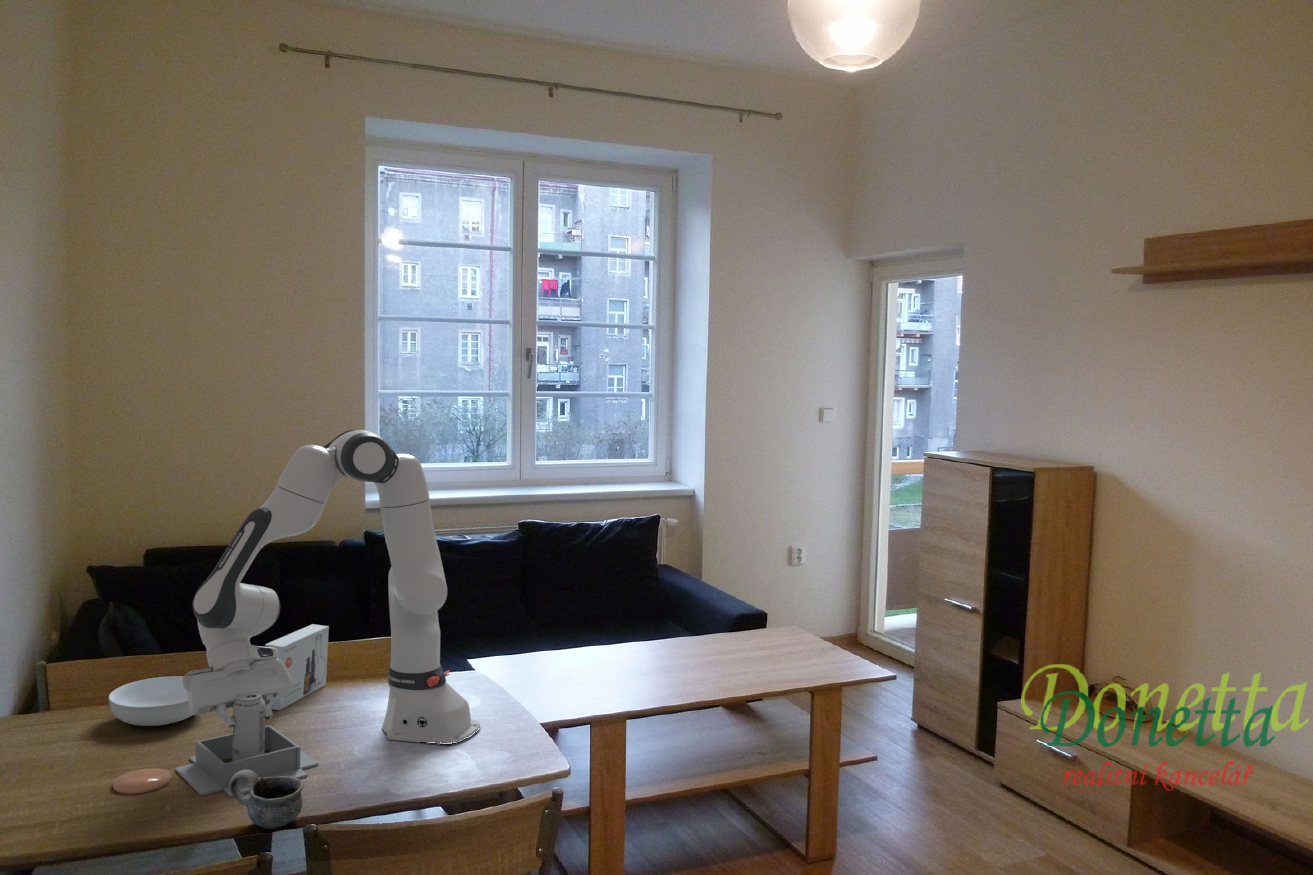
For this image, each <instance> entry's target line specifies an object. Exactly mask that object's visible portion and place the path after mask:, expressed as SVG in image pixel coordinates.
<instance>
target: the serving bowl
mask: <svg viewBox="0 0 1313 875" xmlns="http://www.w3.org/2000/svg"><path fill="white" fill-rule="evenodd" d="M183 677H184V676H181V675H180V676H179V675H177V676H176V675H175V676H173V675H172V676H159V677H152V678H146V679H141V680H136V681H133V682H129V683H127V684H123V685H121V686H119V687H117V688H115V689H114V690H113V691H111V692H110V693H109V695H108V703H109V706H110V707H109V708H110V710H111V712H112V714H113V715H114V716H115V717H116V718H117V719H119V720H120V721H122V722H124V723H127V724H129V725H134V726H141V727H143V726H144V727H158V726H164V725H165V726H166V725H170V723H171V724H174V723H178V722H181V721H184V720H186V719H188V718H190V717H192V716H193V715H194V714H193V713H191V712H190V709H189V704H188V691H186V690H185V688H184V685H183V682H182V679H183ZM194 716H195V715H194Z"/></svg>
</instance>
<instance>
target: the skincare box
mask: <svg viewBox="0 0 1313 875" xmlns="http://www.w3.org/2000/svg"><path fill="white" fill-rule="evenodd" d="M329 630H330V627H329V625H321V624H314V623H312V624H310V625H308V626H305V627H303V628H301V629H297V630H295V631H293V632H291V633H288V634H286V635H284V636H282V637H280V638H276V639H275V640H272V641H270V642H268V643H265V645H264V647H270V648H276V649H277V650H278V658H277V659H279V660H281V661H282V662H283V663H284V664H285V665H286V667H287V669H288V672H289V674H290V676H291V679H292V682H293V686H292V689H291V691H290V692H289V694H288V695H287V696H284V697H280V698H275V699H274V700H273V703H272V706H271V710H272V711H273V710H275V711H282V710H283V709H285V708H286V707H289V706H291V705H292V704H294V703H295V702H298V701H299V700H301V699H303V698H305V697H306V696H308V695H310V694H312V693H314V692H315V691H317V690H319V689H320V688H323V687H325V686H327V668H328V667H327V666H328V650H329V649H328V647H329ZM266 707H267V705H265V709H266Z"/></svg>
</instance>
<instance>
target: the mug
mask: <svg viewBox="0 0 1313 875" xmlns="http://www.w3.org/2000/svg"><path fill="white" fill-rule="evenodd" d="M239 778H244V779H247V780H248V783H249V788H250V792H249V796H248V795H245V793H244V794H243V793H242V792H241V791H240V790H239V788H238V786H237V779H239ZM304 786H305V784H304V781H303V780H302V779H297V778H294V777H289V776H279V777H275V778H273V777H272V778H271V777H257V775H256V774H255V773H254V772H253V771H251V770H241V771H239V772H237V773H236V774H235V775H234V776H233V777H232V778H231V780H230V783H229V789H230V792H231V795H232V796H233V798H234V799H235V800H236V801H237V802H238V803H240V804H241V805H243V806H245V807H246V809H247V815H248V817H249V820H250V821H251V822H252V823H253V824H254V825H256V826H258V827H260V828H263V829H267V830H274V829H279V828H281V827H284V826H287V825H288V824H290V823H292V822H293V821H294V820H295V819H296V818H297V817H298V816H299V814H300V812H301V810H302V808H303V795H302V790H303V789H304Z"/></svg>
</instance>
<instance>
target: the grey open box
mask: <svg viewBox="0 0 1313 875" xmlns="http://www.w3.org/2000/svg"><path fill="white" fill-rule="evenodd" d="M266 750H268V751H269V752H266V753H264V754H261V755H257V756H253V757H249V758H245V759H241V760H237V761H233V760H232V761H229V762H224V761H225V760H229V759H233V733H229V734H225V735H219V736H216V737H210V738H205V739H202V740H195V755H191V756H189V758H188V759H189V760H190V761H191V762H192V763H191V764H186V765H182V766H177V767H175V768H174V771H175V772H176V773H177V774H178V775H179V776H180V777H181V778H182V779H184V781H185V782H186V783H188V785H189V786H190V787H191V788H192V789H193V790H194V791H196V792H197V793H198V794H199V795H200V796H205V795H209V794H214V793H217V792H220V791H222V792H224V793H225V794H226V795H227V796H228V797H229V798H232V797H233V796H232V795H231V792H230V789H229V783H230V780H231V778H232V777H233V776H234V775H235V774H236V773H237V772H239V771H241V770H251V771H253V772H254V773H255V774H256V775H257V777H271V778H272V777H273V778H275V777H279V776H289V777H294V778H297V779H300V780H302V779H304V778H307V777H308V775H309V774H308V773H307V772H306V771H305V769H309V768H313V767H317V766H318V767H319V762H318V761H316V760H315V759H313V758H312V757H311V756H309V755H308V754H307V753H305V752H304V751H302V749H301V746H300V745H298V743H296V742H294V741H293V740H292V739H290V738H289V737H287V736H286V735H285V734H283V733H282V732H280V731H279V730H278V729H276V728H275V727H274V726H273V725H271V724H267V725H265V749H264V751H266ZM237 786H238V788H239V790H240V791H241V792H242V793H243V794H244V795H245V794H247V793H250V788H249V783H248V780H247V779H244V778H239V779H237ZM233 798H234V797H233Z"/></svg>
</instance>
